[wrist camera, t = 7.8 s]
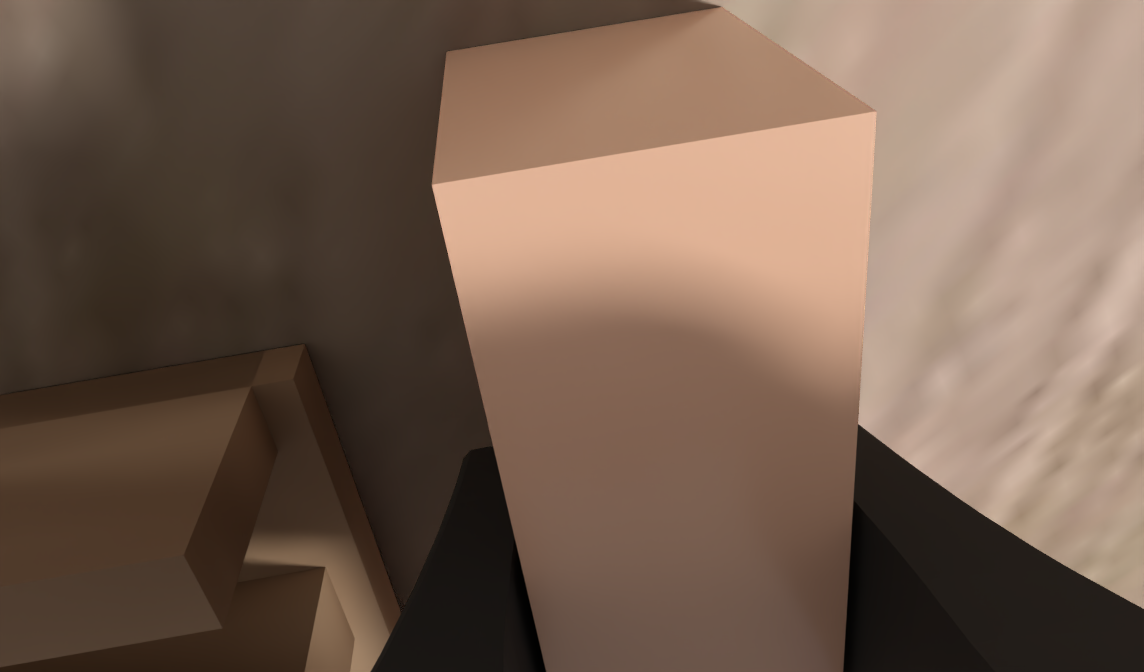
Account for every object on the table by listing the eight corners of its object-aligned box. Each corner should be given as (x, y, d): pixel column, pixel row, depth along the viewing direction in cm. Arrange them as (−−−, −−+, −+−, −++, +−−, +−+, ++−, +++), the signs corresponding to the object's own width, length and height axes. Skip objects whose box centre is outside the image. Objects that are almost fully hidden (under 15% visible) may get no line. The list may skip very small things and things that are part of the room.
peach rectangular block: (744, 622, 14) (830, 870, 11) (570, 652, 14) (602, 913, 11) (722, 6, 9) (877, 111, 6) (447, 52, 9) (432, 184, 5)
